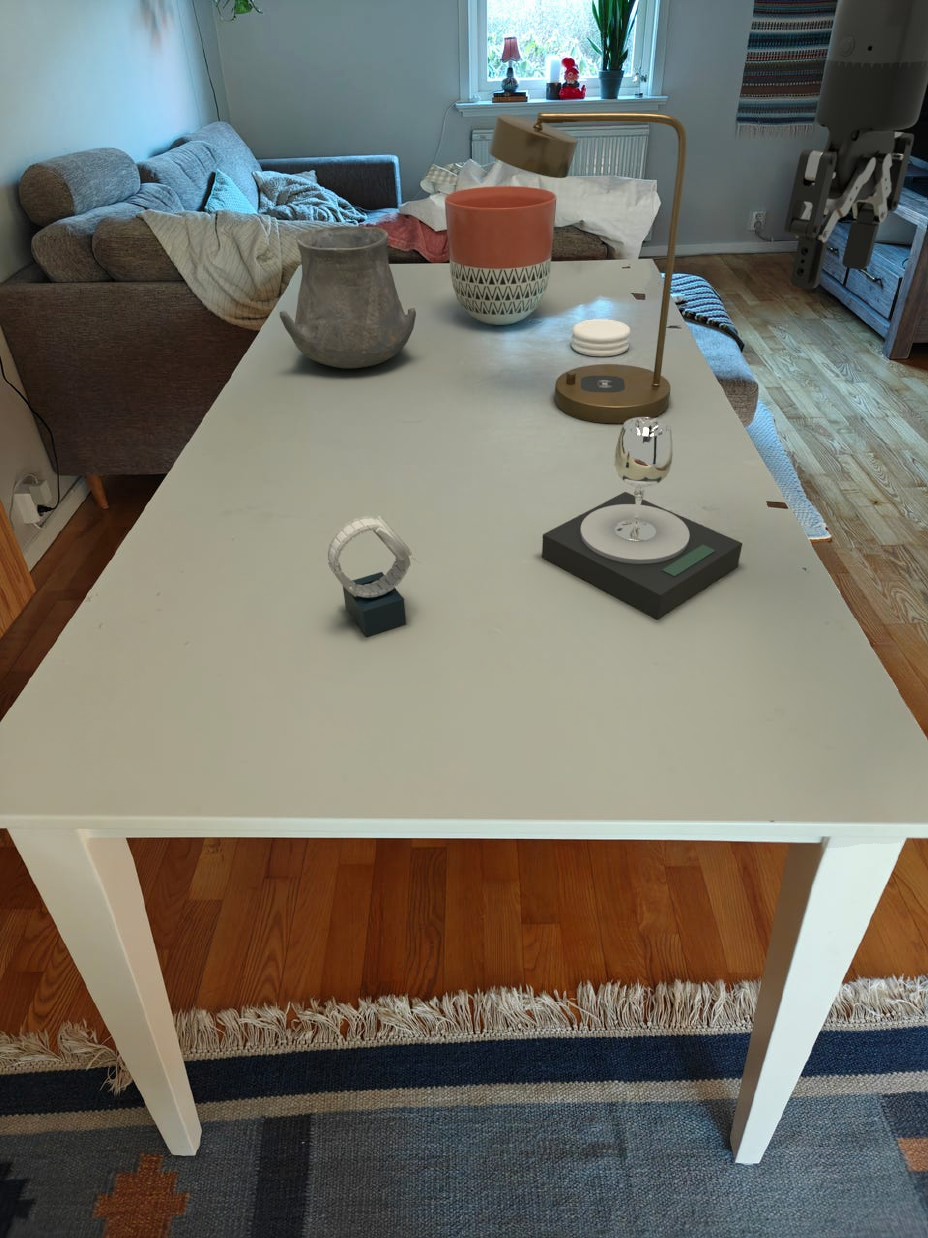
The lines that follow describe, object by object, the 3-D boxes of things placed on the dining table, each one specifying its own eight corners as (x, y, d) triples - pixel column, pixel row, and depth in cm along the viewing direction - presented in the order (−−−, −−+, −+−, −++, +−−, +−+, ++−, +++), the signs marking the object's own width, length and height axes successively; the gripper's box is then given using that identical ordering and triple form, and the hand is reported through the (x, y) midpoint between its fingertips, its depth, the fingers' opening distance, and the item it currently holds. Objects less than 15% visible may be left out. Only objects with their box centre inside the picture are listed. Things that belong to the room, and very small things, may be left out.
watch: (423, 618, 86) (417, 523, 79) (349, 642, 83) (336, 546, 76) (400, 590, 90) (393, 498, 83) (329, 612, 87) (315, 519, 80)
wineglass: (604, 540, 90) (613, 435, 83) (612, 514, 95) (622, 412, 87) (659, 547, 89) (673, 441, 82) (665, 520, 93) (679, 417, 86)
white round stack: (614, 361, 143) (616, 340, 140) (561, 351, 147) (562, 331, 145) (637, 343, 149) (639, 323, 147) (586, 334, 154) (587, 314, 152)
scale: (738, 566, 92) (743, 538, 90) (657, 619, 85) (661, 590, 83) (623, 513, 102) (625, 486, 100) (541, 557, 95) (542, 529, 92)
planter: (428, 319, 163) (422, 196, 150) (506, 299, 172) (507, 181, 159) (492, 345, 150) (492, 213, 137) (573, 322, 159) (579, 196, 147)
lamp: (495, 377, 138) (494, 105, 115) (664, 380, 135) (698, 102, 112) (484, 420, 124) (481, 121, 102) (672, 425, 121) (712, 119, 99)
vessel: (412, 332, 157) (405, 214, 145) (421, 376, 139) (414, 246, 127) (293, 339, 155) (276, 221, 143) (287, 385, 137) (267, 254, 125)
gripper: (882, 62, 58) (827, 304, 68) (972, 49, 66) (910, 268, 75) (784, 58, 63) (745, 285, 73) (878, 46, 70) (832, 254, 80)
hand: (830, 276), depth 74 cm, fingers open, 8 cm apart
